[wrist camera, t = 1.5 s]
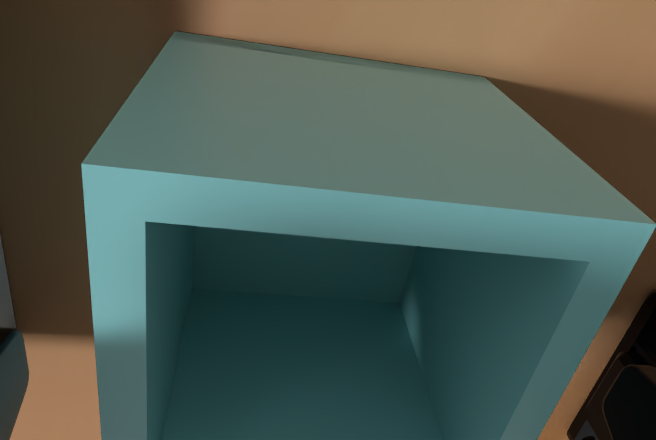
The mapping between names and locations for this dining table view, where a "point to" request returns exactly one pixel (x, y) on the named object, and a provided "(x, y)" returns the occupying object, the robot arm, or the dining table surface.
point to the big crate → (5, 295)
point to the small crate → (339, 252)
